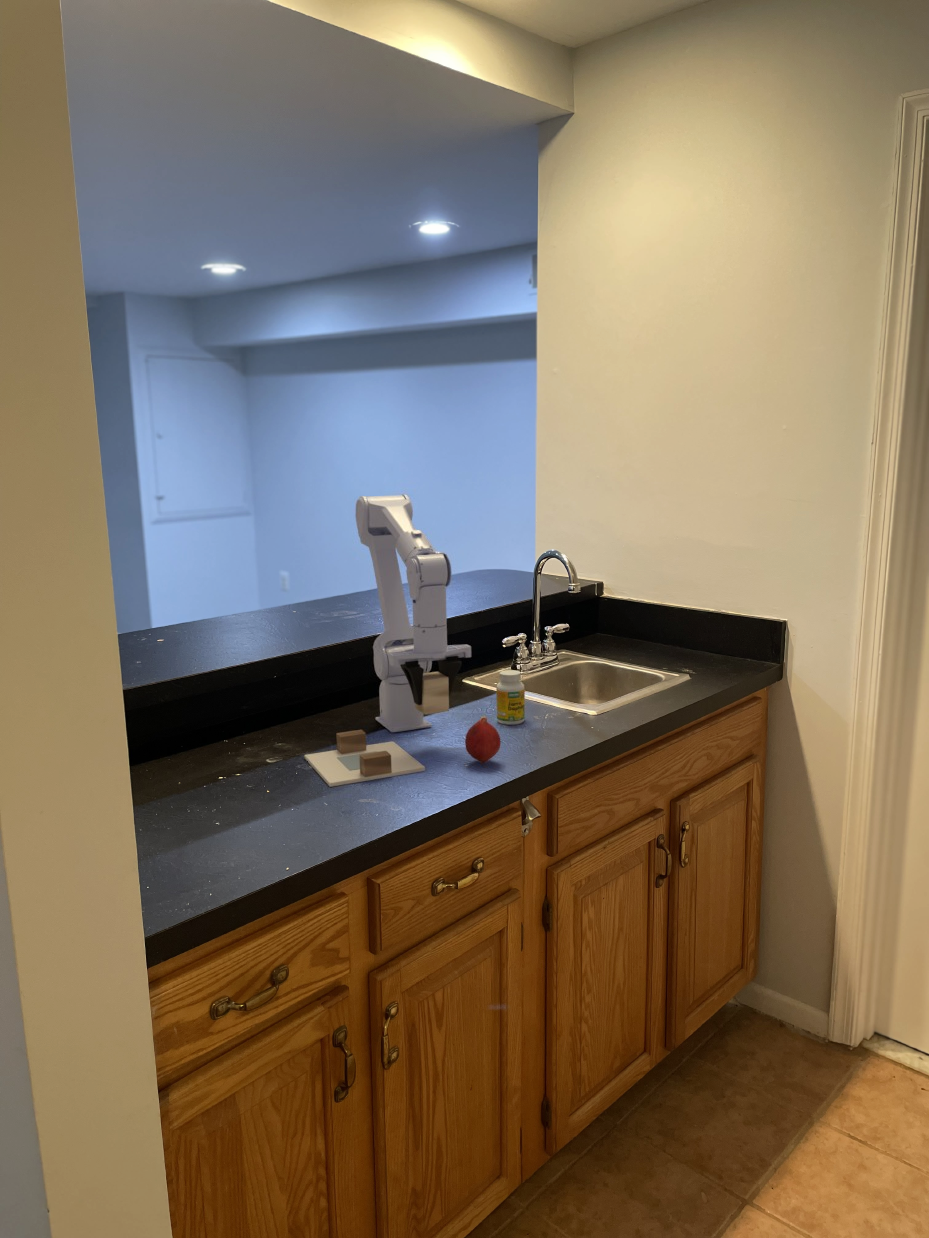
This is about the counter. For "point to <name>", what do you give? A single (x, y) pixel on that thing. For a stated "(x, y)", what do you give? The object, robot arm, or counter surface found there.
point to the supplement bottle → (510, 698)
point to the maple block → (434, 693)
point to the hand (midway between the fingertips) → (431, 701)
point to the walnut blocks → (368, 762)
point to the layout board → (347, 765)
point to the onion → (482, 741)
